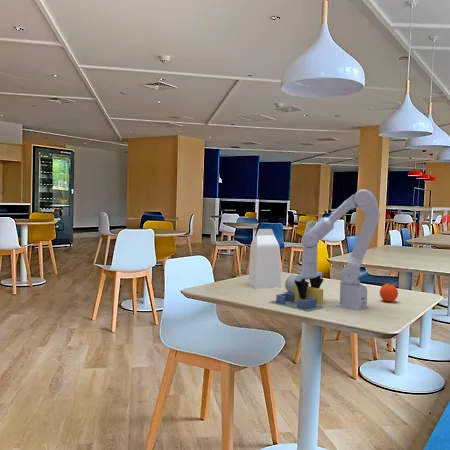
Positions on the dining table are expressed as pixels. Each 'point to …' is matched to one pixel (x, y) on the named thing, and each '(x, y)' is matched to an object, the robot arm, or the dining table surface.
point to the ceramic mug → (291, 284)
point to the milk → (264, 261)
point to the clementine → (388, 292)
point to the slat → (311, 294)
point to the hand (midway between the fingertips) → (308, 297)
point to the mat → (294, 305)
